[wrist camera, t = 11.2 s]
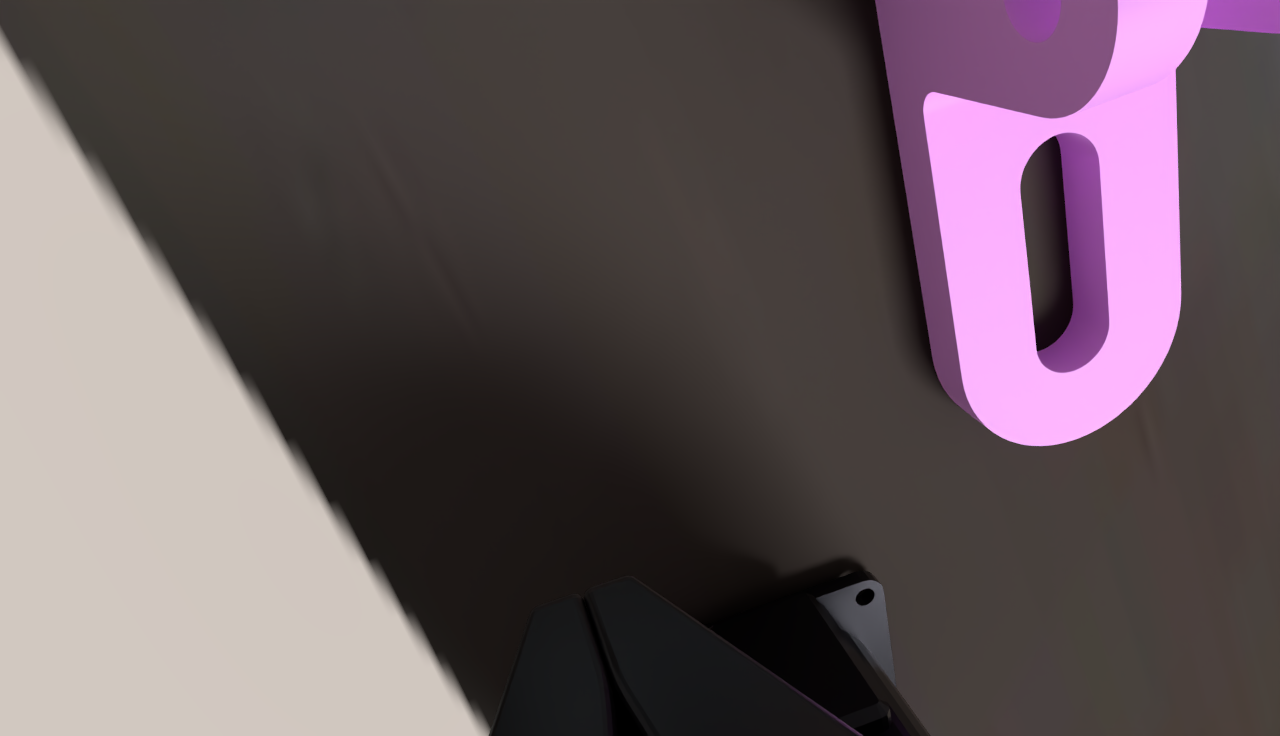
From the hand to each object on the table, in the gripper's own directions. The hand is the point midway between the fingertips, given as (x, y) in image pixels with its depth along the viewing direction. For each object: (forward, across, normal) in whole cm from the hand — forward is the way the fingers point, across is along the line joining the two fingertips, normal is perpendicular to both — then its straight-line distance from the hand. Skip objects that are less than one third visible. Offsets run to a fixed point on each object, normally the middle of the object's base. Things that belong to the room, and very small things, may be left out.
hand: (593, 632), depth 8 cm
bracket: (+12, -12, +2) cm, 17 cm away
